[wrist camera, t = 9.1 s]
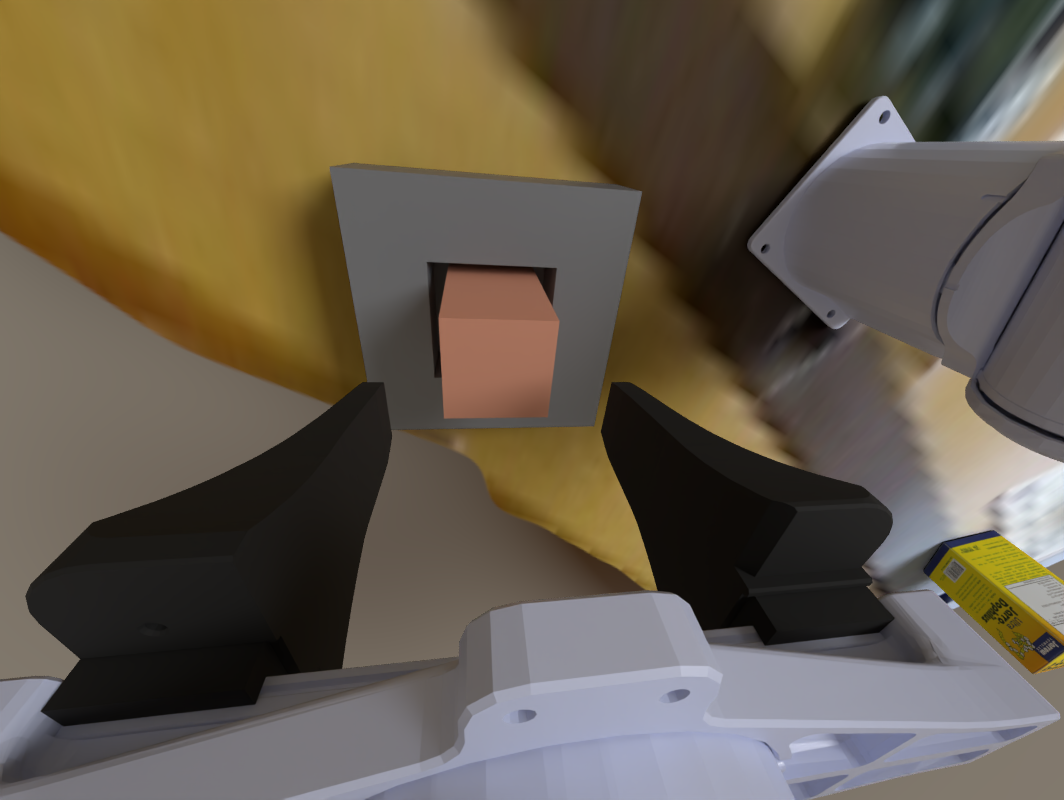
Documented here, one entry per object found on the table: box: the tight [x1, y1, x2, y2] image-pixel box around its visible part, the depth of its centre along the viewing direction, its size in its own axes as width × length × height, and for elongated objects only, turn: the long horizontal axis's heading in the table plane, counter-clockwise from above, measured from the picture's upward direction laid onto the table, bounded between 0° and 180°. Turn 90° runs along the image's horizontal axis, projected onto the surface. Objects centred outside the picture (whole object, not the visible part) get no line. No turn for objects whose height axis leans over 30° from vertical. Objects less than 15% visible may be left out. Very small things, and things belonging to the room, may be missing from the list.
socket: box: [330, 163, 642, 430], centre depth 20 cm, size 12×12×4 cm
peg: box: [439, 263, 560, 418], centre depth 17 cm, size 4×4×8 cm
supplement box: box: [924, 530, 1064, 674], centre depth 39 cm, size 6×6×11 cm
